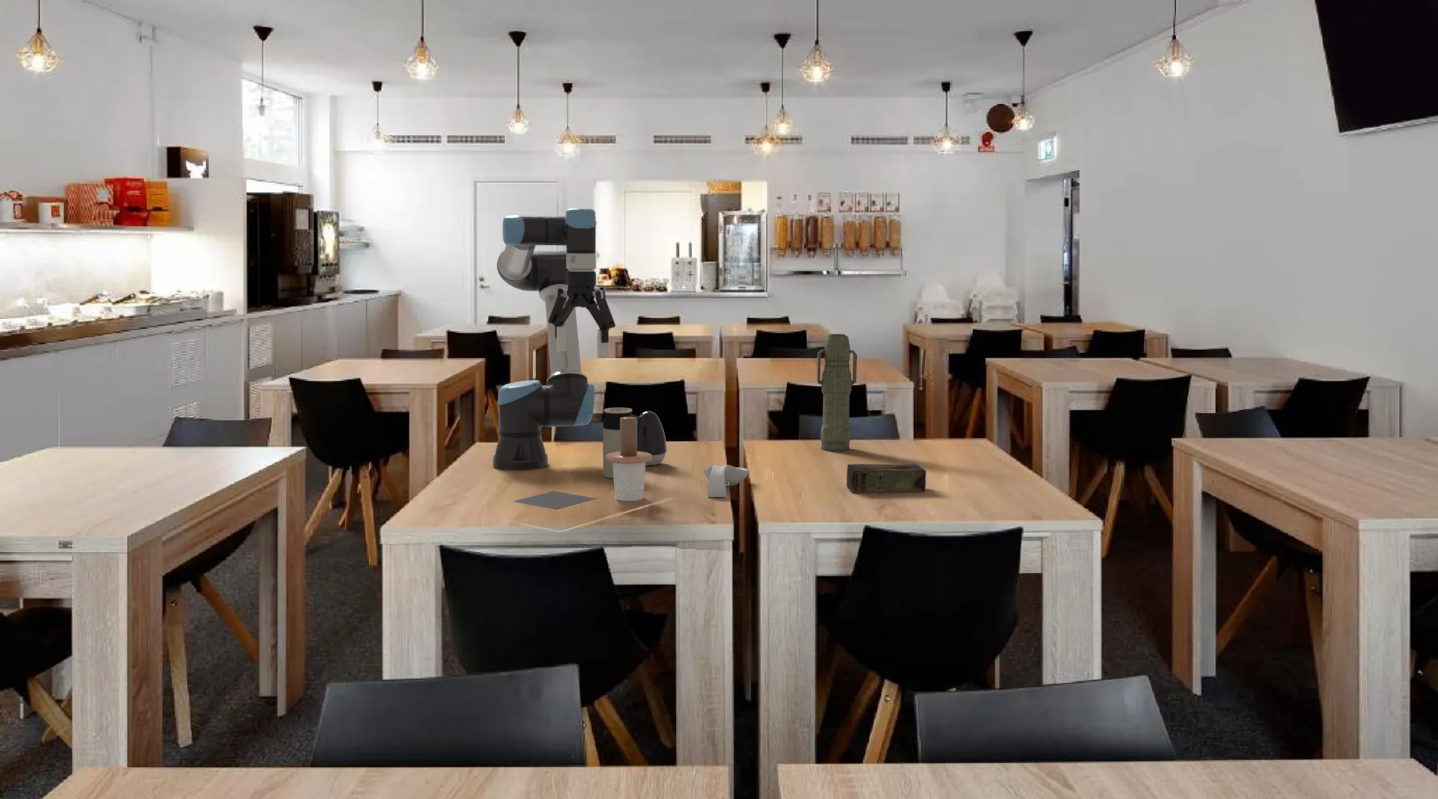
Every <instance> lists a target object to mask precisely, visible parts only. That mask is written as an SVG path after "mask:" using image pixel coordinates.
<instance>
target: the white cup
mask: <svg viewBox="0 0 1438 799" xmlns="http://www.w3.org/2000/svg"><path fill="white" fill-rule="evenodd" d="M613 478H614V479H613V489H614V498H615V500H617V501H621V502H635V501H640V500H641V501H642V500H643V499H644V494H645V493H644V491H645V490H644V489H645V480H646V466H645V462H644V463H635V464H620V463H613Z"/></svg>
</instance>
